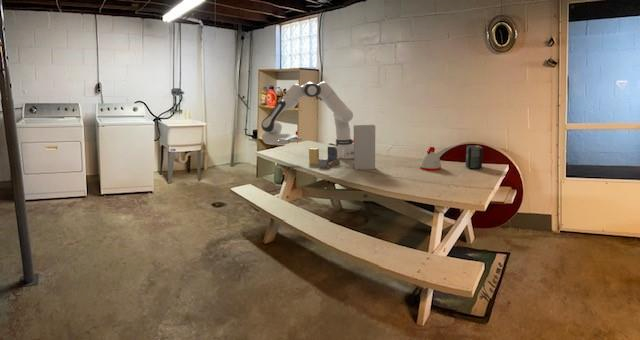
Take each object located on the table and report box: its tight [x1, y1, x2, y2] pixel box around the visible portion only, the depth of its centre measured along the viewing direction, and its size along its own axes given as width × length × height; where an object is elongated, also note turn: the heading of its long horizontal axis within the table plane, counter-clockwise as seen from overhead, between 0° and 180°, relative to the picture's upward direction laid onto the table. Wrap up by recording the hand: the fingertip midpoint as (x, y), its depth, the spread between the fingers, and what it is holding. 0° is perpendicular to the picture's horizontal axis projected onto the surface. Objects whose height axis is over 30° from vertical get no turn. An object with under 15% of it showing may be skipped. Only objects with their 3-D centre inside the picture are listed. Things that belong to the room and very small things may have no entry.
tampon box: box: [465, 144, 484, 170], centre depth 284 cm, size 11×9×15 cm
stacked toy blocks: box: [314, 145, 341, 169], centre depth 299 cm, size 21×10×13 cm, turn 155°
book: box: [308, 147, 320, 165], centre depth 305 cm, size 4×6×12 cm, turn 65°
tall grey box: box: [353, 124, 376, 171], centre depth 287 cm, size 14×6×30 cm, turn 92°
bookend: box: [318, 157, 328, 169], centre depth 292 cm, size 3×6×6 cm, turn 65°
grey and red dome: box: [419, 146, 442, 172], centre depth 284 cm, size 14×14×15 cm
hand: (298, 140), depth 307 cm, fingers open, 8 cm apart
